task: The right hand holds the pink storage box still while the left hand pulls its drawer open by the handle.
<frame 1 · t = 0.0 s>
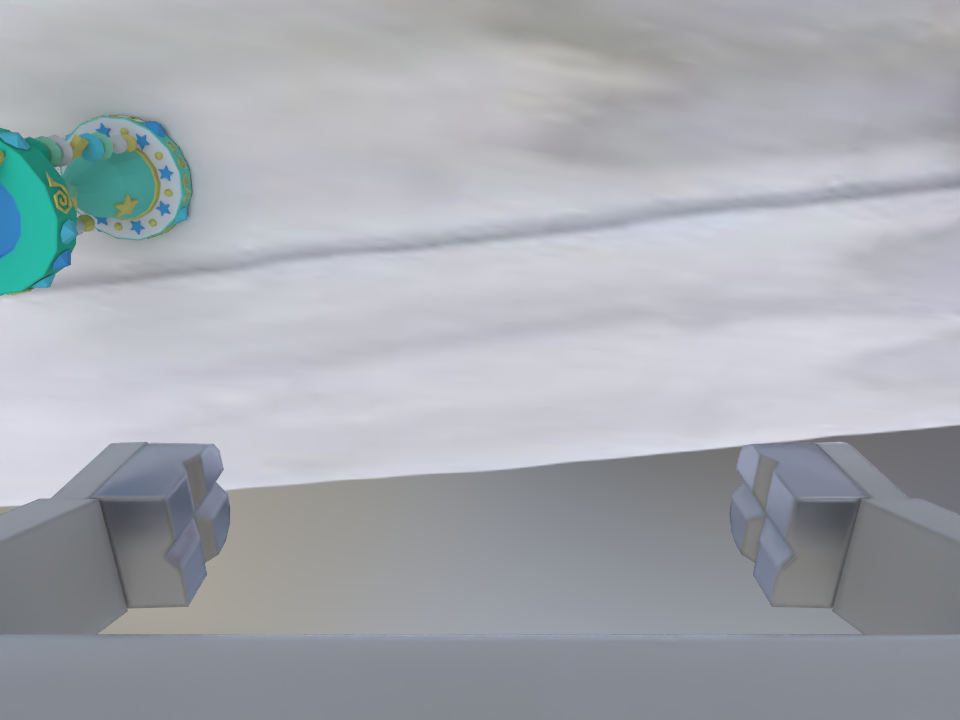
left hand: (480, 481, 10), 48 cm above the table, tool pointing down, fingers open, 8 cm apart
decorative hourglass: (134, 177, 55), on the table
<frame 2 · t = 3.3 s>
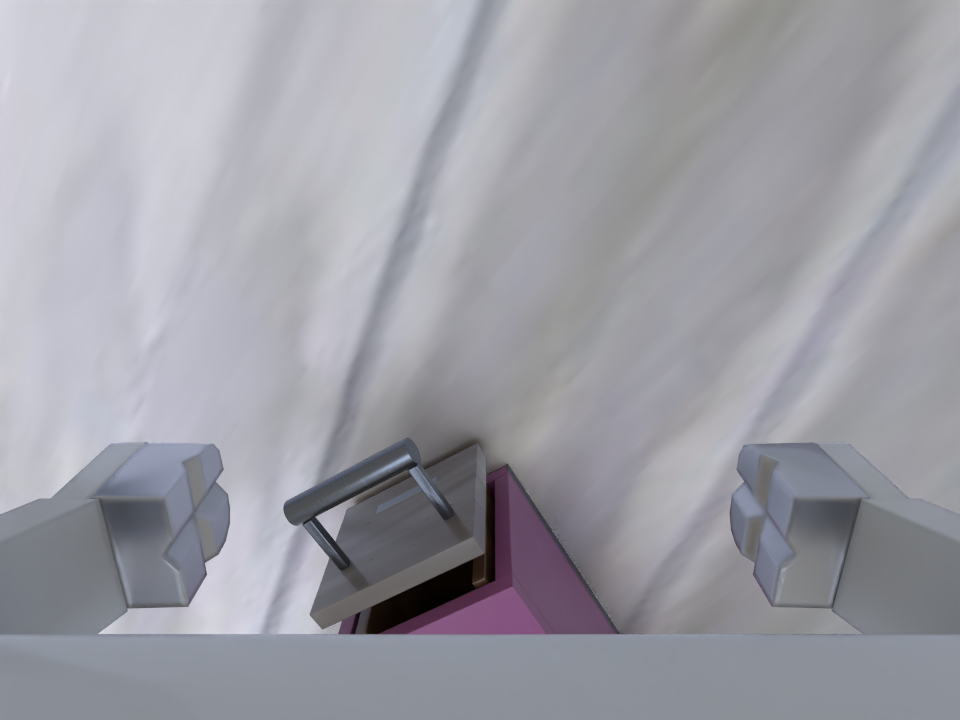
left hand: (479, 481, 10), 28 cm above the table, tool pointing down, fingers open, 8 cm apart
pink storage box: (506, 598, 47), on the table, touching right hand
drawer: (458, 597, 40), point 6 cm above the table, slide at 1.7 cm
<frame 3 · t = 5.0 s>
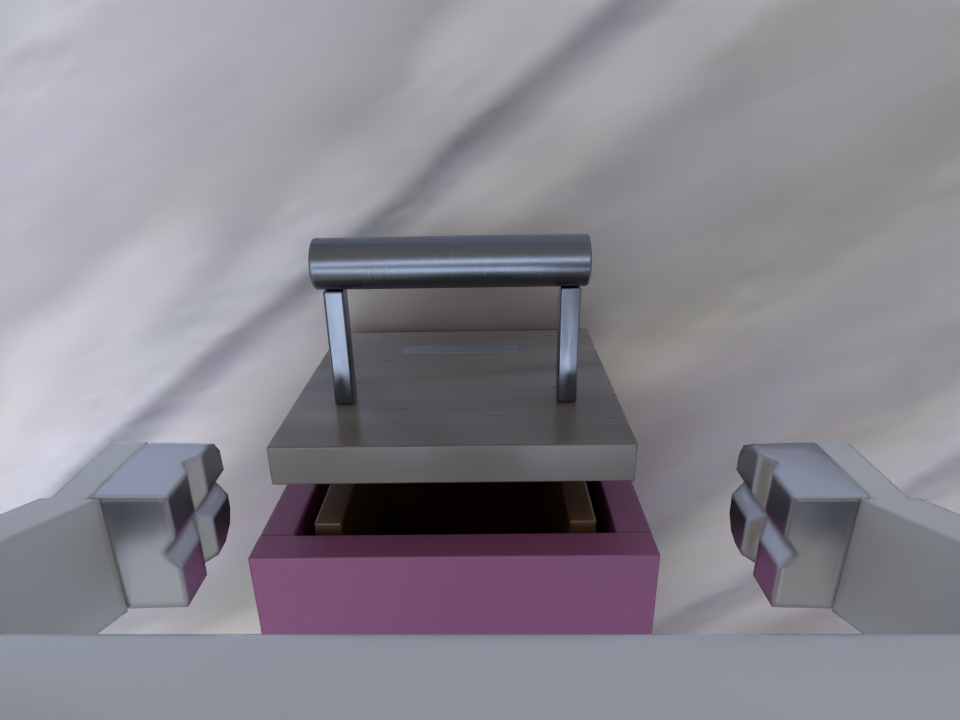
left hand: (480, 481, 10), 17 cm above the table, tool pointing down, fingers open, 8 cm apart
pink storage box: (470, 564, 32), on the table, touching right hand
drawer: (463, 534, 24), point 6 cm above the table, slide at 1.7 cm
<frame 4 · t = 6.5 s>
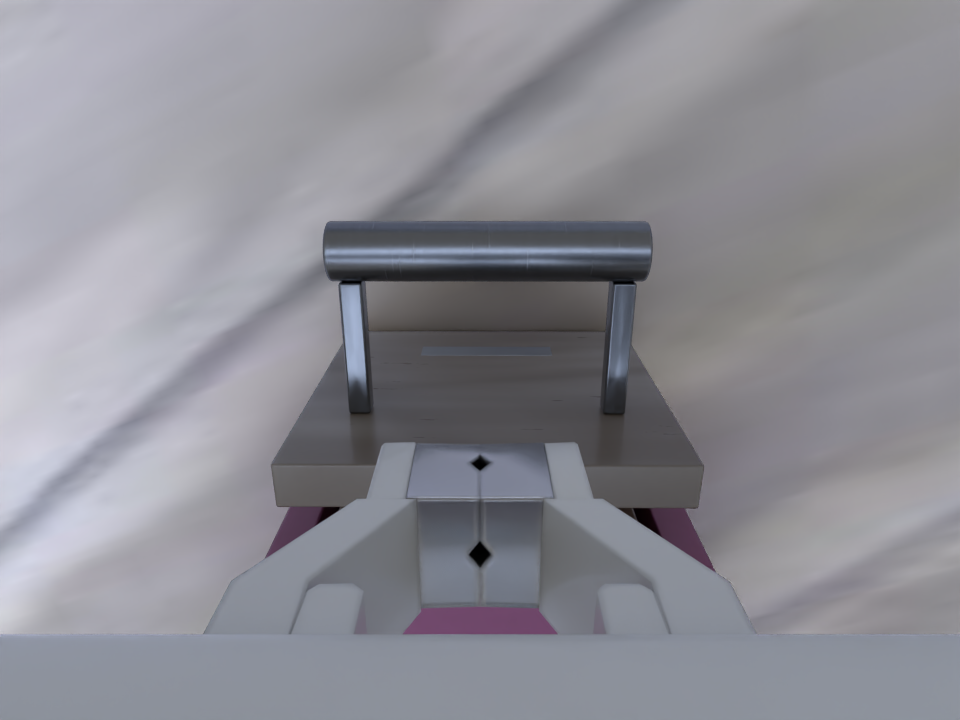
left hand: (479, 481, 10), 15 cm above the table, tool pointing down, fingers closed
pink storage box: (485, 584, 30), on the table, touching right hand
drawer: (486, 557, 22), point 6 cm above the table, slide at 1.7 cm
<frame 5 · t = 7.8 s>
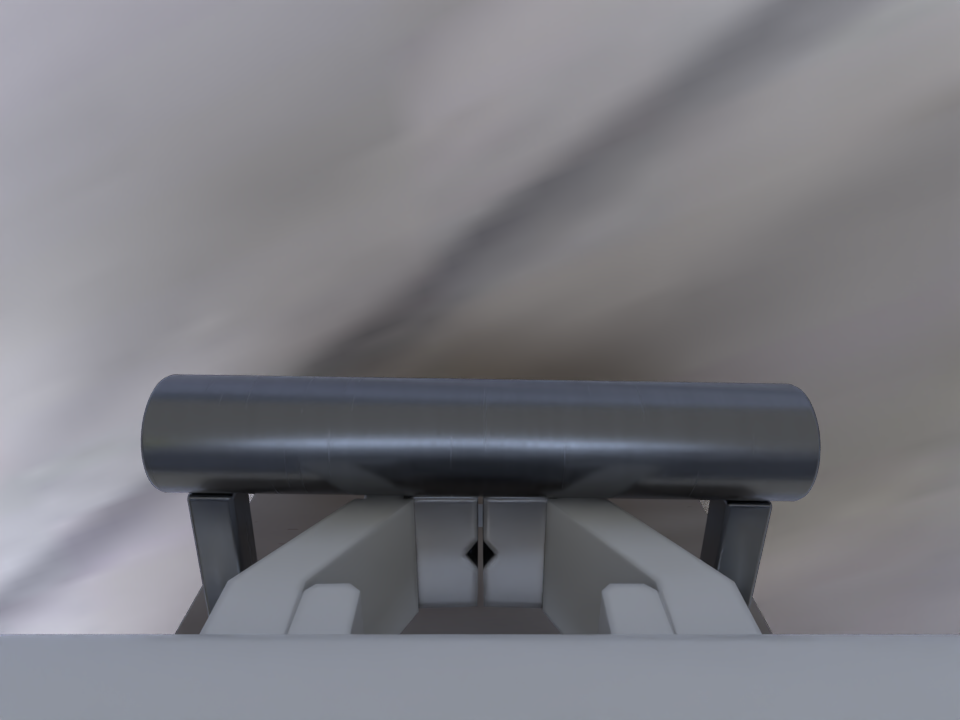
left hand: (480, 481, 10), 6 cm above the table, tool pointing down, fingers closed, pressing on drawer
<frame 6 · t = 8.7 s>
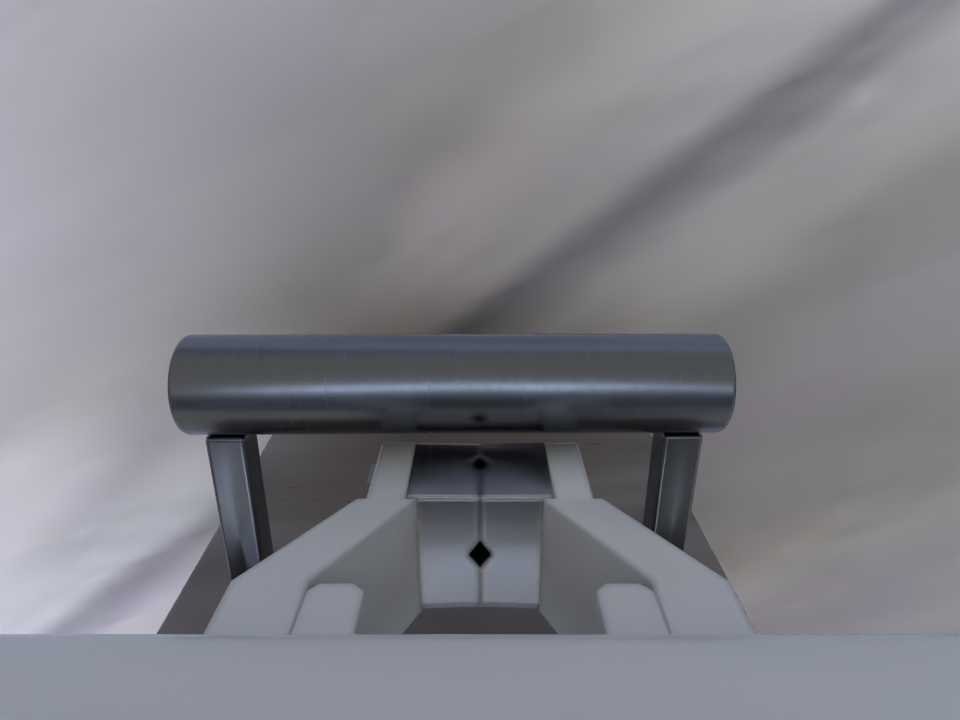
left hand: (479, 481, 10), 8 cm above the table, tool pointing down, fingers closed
when the right hand's fingers open (7 cm above the table, at t = 10.1 s): pink storage box stays where it is, on the table.
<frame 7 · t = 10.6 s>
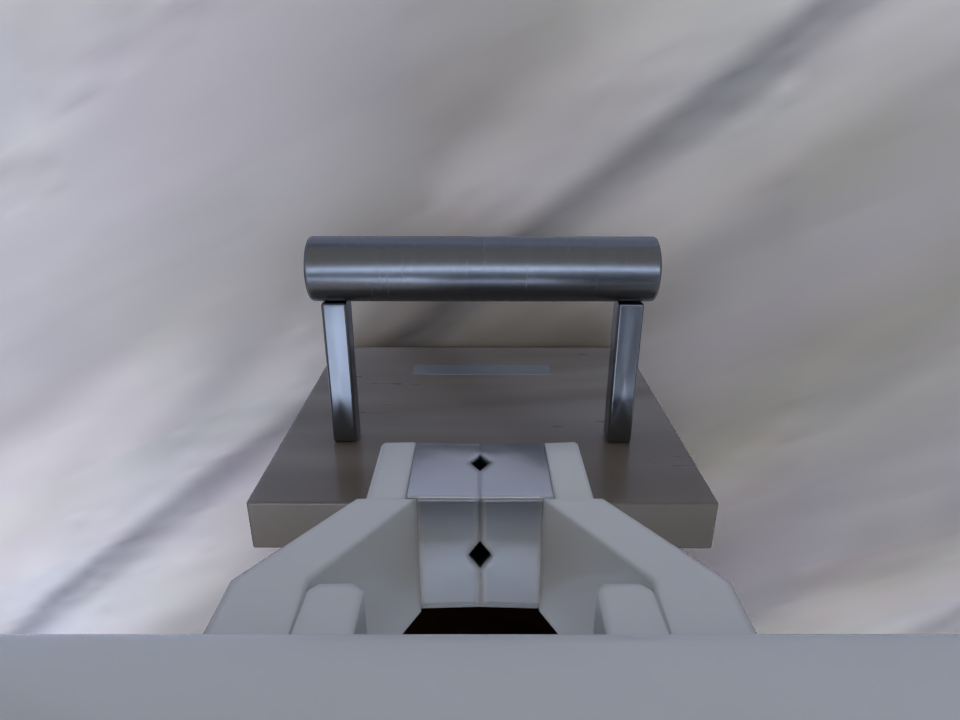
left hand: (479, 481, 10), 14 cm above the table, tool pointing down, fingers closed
drawer: (481, 588, 21), point 6 cm above the table, slide at 6.3 cm
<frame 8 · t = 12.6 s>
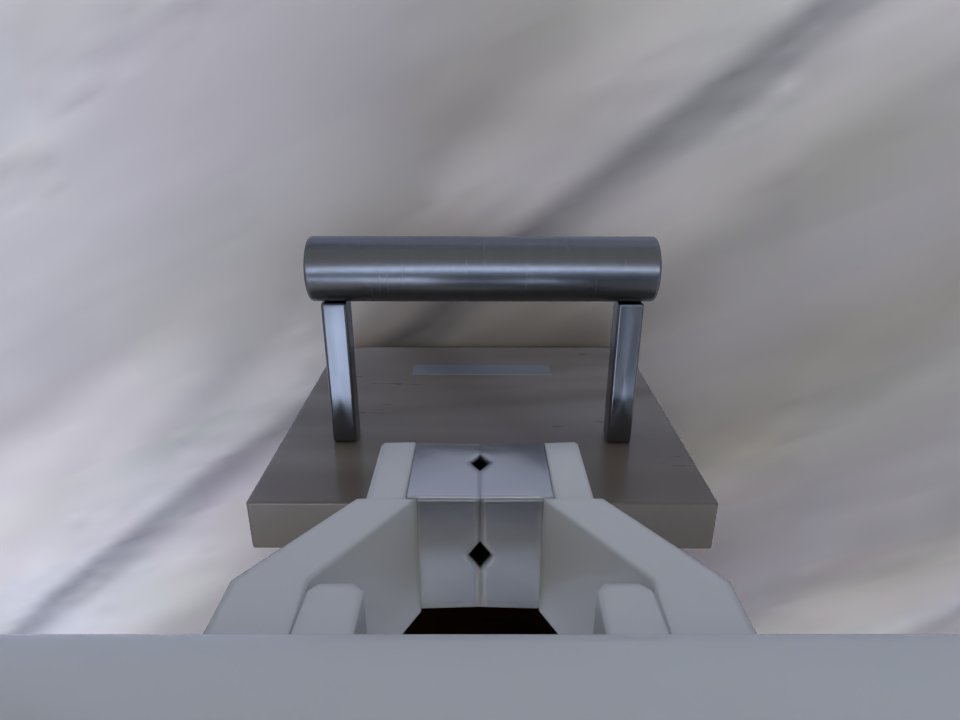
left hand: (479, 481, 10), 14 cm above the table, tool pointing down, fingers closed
drawer: (481, 588, 21), point 6 cm above the table, slide at 6.3 cm
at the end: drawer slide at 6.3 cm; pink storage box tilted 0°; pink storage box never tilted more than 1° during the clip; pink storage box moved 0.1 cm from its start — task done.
